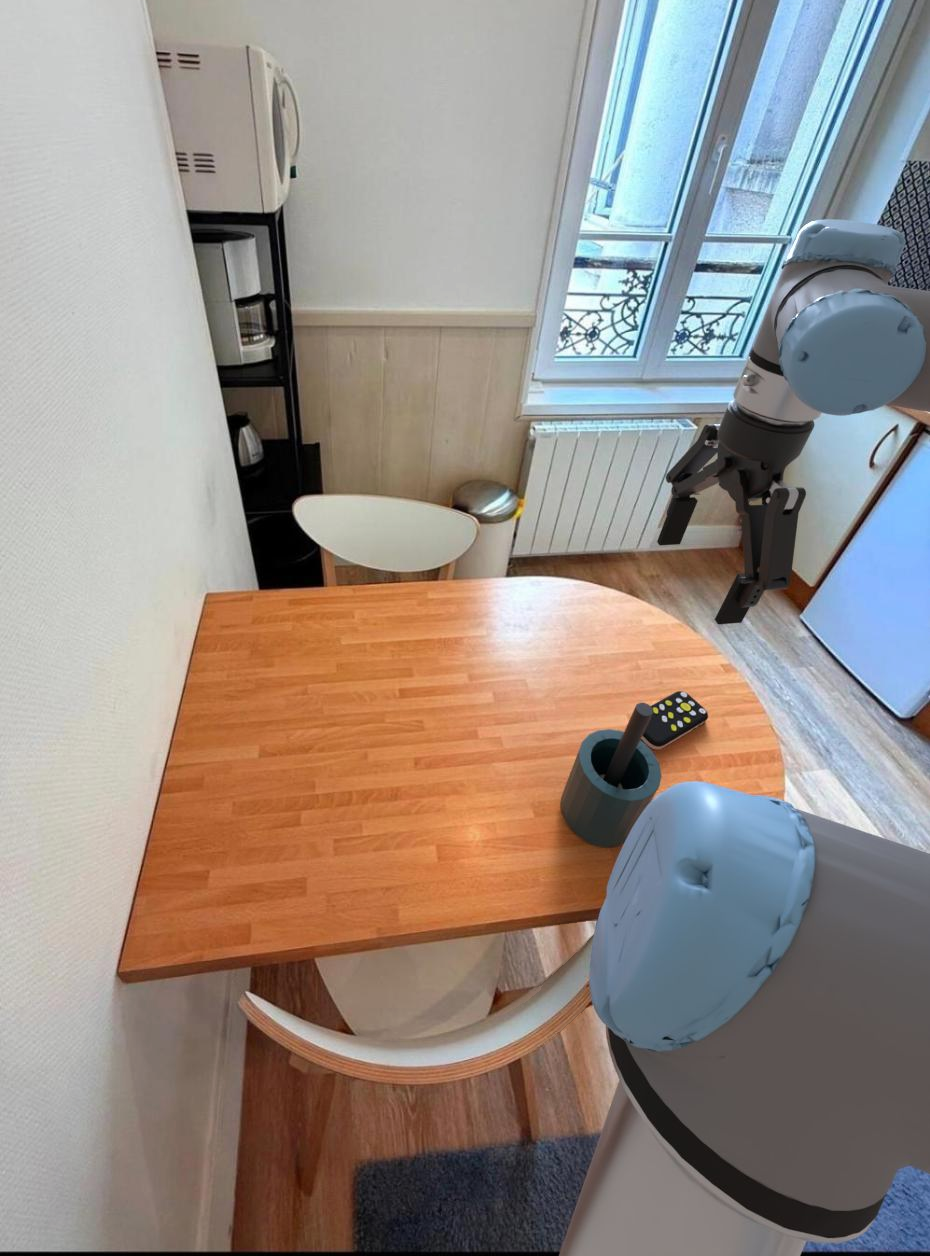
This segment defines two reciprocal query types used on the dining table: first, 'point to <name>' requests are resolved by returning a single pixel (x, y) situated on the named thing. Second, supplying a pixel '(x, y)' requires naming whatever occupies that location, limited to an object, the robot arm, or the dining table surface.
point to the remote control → (673, 719)
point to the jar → (608, 790)
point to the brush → (628, 744)
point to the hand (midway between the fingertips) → (695, 579)
